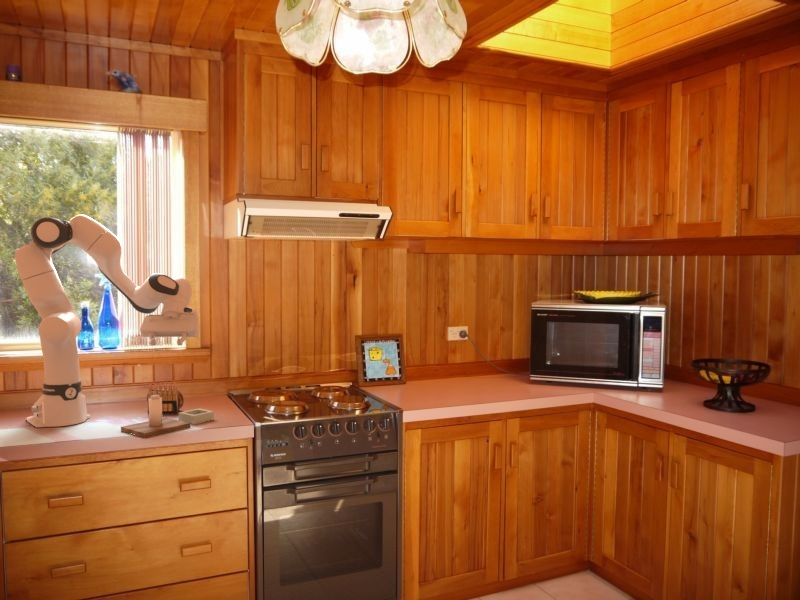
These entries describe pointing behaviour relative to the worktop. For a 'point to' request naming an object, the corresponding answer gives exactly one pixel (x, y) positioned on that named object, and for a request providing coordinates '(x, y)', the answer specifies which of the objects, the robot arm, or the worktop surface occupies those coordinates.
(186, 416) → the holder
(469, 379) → the worktop surface
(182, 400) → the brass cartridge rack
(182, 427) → the cutting board
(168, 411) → the ammunition clip
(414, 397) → the worktop surface
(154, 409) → the pepper mill
